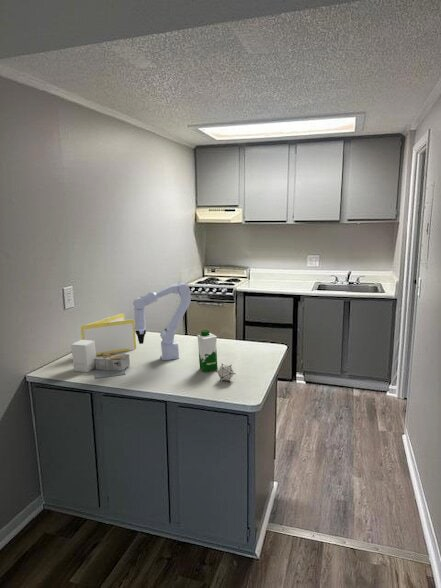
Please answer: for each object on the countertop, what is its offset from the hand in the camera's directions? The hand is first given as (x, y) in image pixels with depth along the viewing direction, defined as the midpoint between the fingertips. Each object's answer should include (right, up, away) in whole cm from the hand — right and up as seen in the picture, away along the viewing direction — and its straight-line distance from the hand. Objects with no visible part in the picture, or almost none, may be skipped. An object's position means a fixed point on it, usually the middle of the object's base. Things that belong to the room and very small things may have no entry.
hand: (141, 343), depth 231 cm
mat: (-14, -14, -12) cm, 23 cm away
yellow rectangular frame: (-20, -7, +23) cm, 32 cm away
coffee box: (-6, -9, -10) cm, 15 cm away
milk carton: (+38, -12, -14) cm, 42 cm away
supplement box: (-29, -13, -6) cm, 32 cm away
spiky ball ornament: (+47, -15, -30) cm, 58 cm away
